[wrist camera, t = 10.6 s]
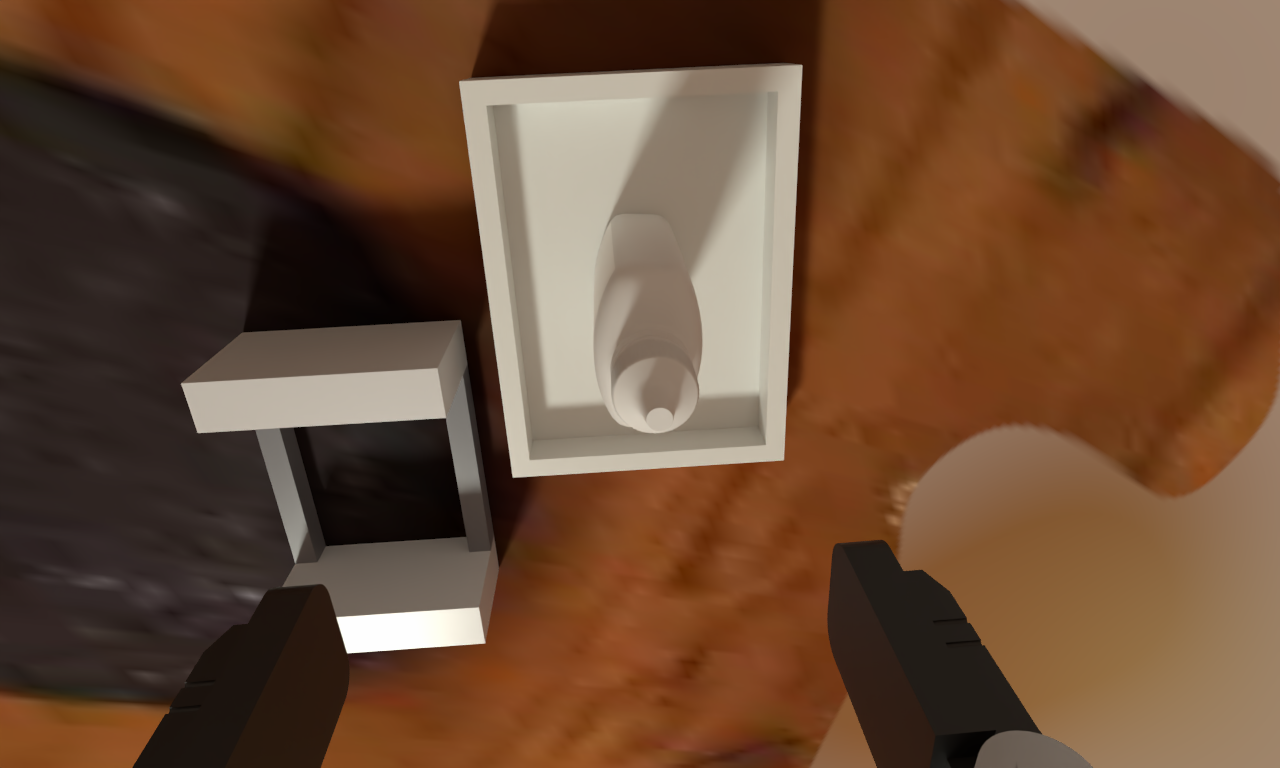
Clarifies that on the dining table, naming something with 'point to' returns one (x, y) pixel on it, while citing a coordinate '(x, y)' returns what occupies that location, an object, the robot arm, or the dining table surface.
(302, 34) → the dining table surface
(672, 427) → the eye dropper bottle
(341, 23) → the dining table surface
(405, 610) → the holder
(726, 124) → the tray
